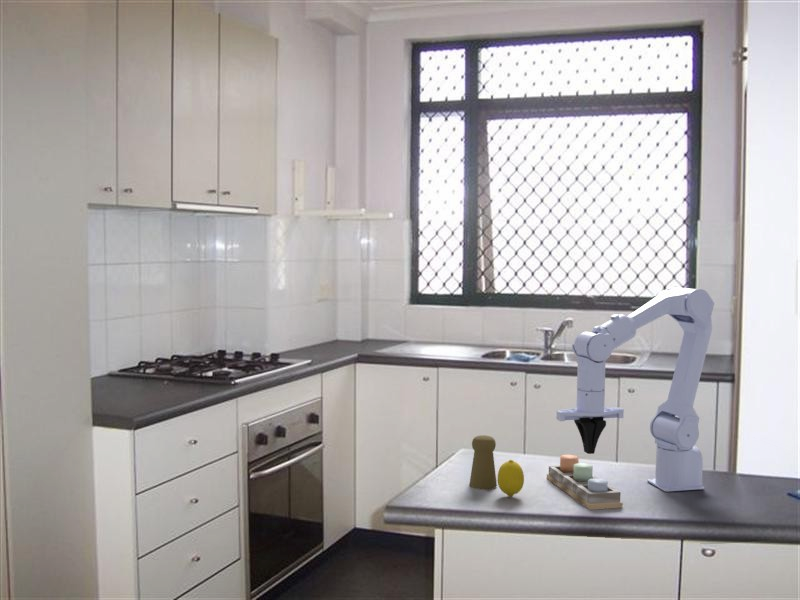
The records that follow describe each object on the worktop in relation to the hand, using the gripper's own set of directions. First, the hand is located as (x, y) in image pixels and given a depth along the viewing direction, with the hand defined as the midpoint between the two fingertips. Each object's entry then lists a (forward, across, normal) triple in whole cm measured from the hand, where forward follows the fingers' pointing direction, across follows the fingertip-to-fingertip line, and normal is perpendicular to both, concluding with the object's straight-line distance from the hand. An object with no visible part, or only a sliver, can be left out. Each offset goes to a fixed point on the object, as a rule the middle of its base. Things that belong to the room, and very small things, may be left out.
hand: (589, 452), depth 177 cm
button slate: (+8, 0, +4) cm, 9 cm away
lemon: (+10, +16, -3) cm, 19 cm away
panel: (+9, 0, -3) cm, 10 cm away
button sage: (+7, 0, -3) cm, 7 cm away
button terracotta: (+7, 0, -10) cm, 12 cm away
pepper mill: (+10, +19, -12) cm, 25 cm away
